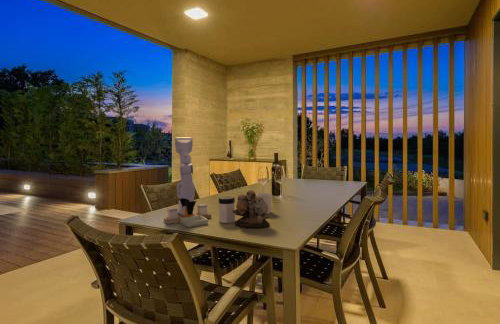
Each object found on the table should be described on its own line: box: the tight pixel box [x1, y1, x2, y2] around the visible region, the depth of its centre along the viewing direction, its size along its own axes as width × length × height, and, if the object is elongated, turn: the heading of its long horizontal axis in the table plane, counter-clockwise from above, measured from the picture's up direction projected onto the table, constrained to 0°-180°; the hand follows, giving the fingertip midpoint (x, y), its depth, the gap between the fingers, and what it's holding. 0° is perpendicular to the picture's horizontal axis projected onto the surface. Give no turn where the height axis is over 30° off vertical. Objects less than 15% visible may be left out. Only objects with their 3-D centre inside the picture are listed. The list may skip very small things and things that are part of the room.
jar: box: [218, 195, 236, 224], centre depth 156 cm, size 9×8×12 cm
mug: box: [256, 192, 272, 215], centre depth 174 cm, size 12×8×10 cm, turn 78°
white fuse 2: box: [196, 203, 208, 215], centre depth 165 cm, size 4×4×7 cm
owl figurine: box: [233, 189, 271, 230], centre depth 147 cm, size 18×12×17 cm, turn 77°
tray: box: [180, 215, 209, 228], centre depth 153 cm, size 11×11×2 cm
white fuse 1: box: [167, 206, 179, 220], centre depth 157 cm, size 4×4×7 cm
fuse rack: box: [163, 212, 212, 225], centre depth 161 cm, size 7×23×2 cm, turn 120°
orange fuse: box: [183, 206, 193, 217], centre depth 161 cm, size 4×4×7 cm
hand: (187, 213), depth 161 cm, fingers open, 7 cm apart
